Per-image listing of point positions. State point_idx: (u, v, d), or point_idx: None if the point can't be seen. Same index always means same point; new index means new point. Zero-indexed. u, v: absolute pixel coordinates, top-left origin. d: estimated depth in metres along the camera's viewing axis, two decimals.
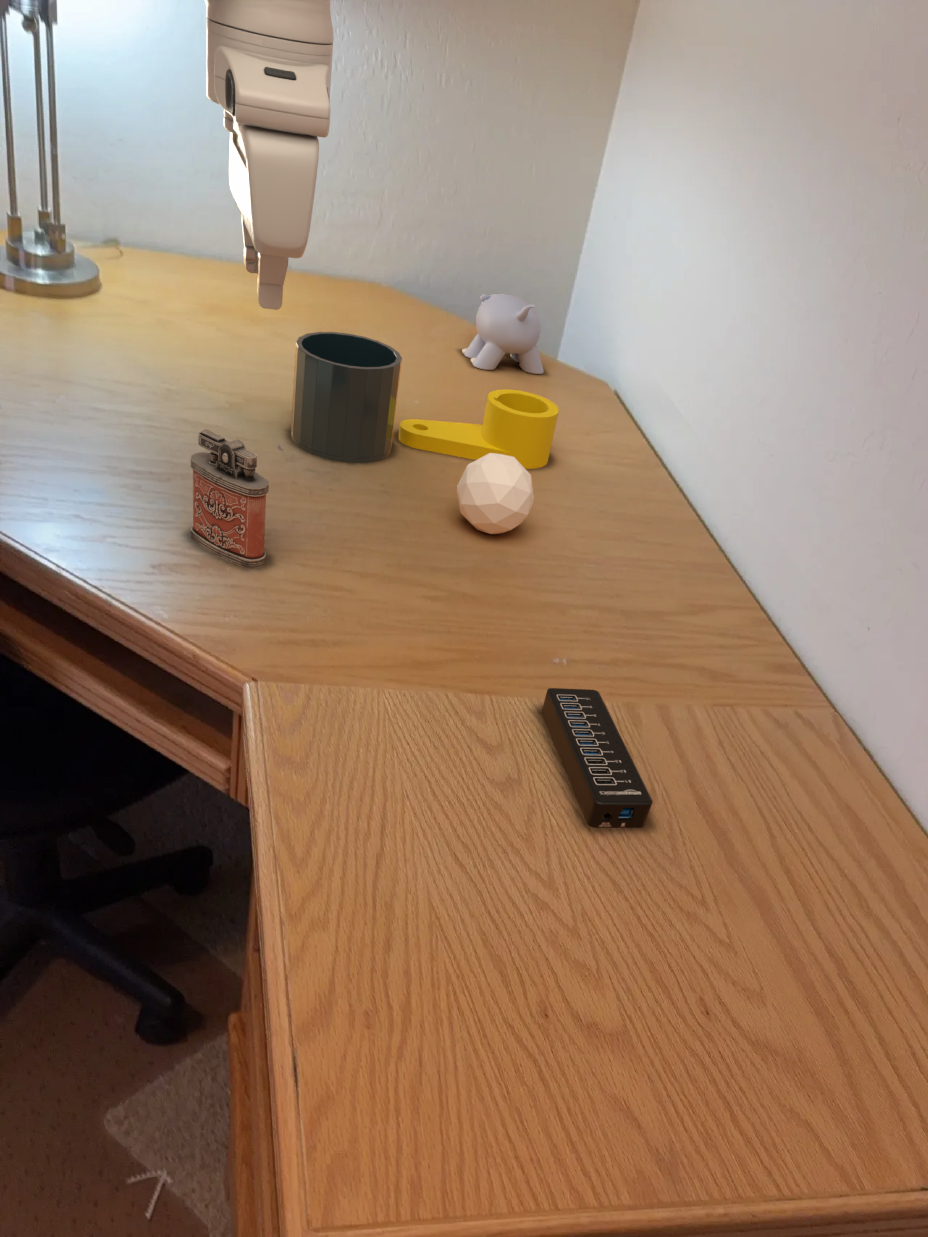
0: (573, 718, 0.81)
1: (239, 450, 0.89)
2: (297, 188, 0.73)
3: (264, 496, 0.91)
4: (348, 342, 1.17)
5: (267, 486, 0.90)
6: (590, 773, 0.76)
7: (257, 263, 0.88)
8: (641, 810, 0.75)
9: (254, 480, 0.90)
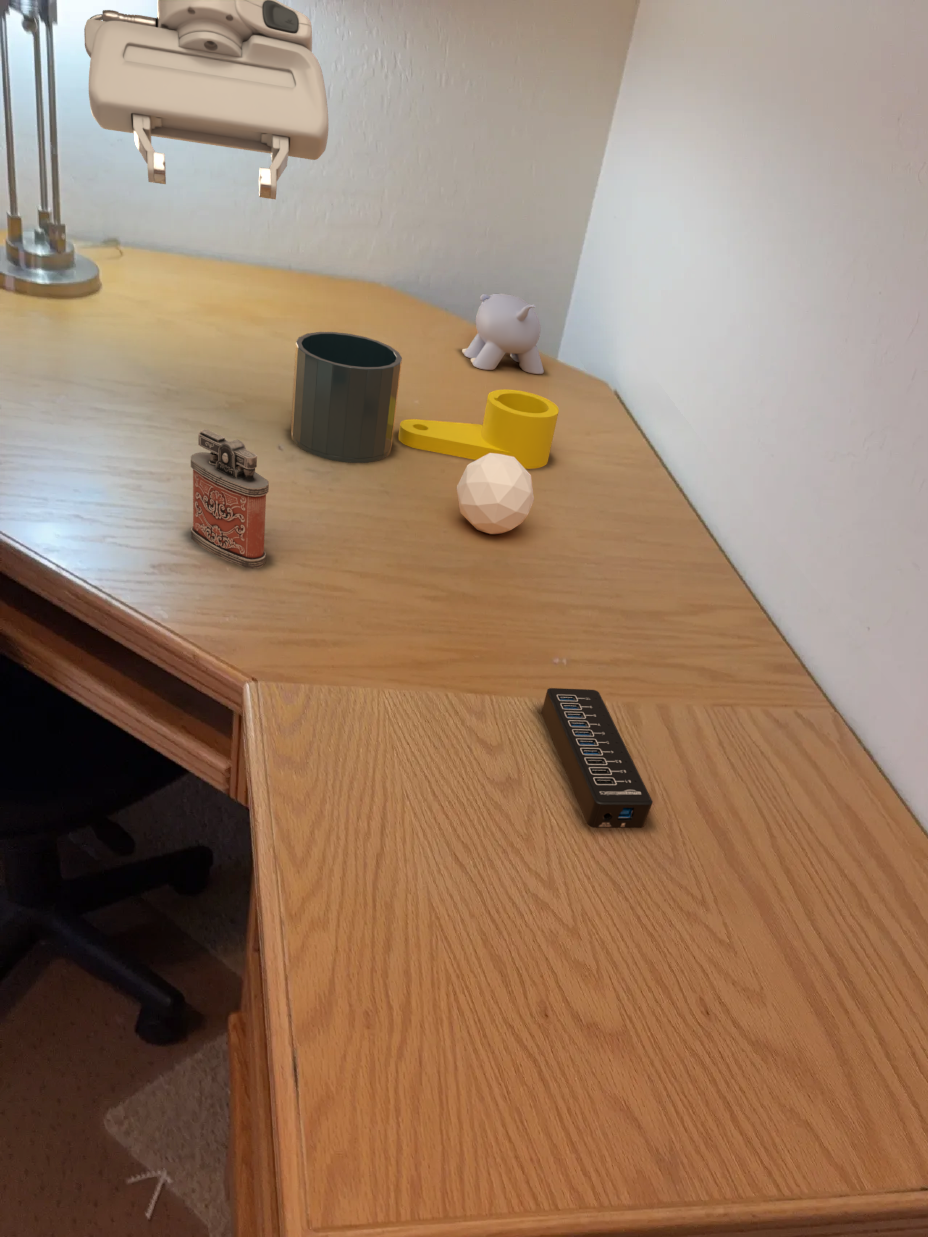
0: (573, 718, 0.81)
1: (239, 450, 0.89)
2: None
3: (264, 496, 0.91)
4: (348, 342, 1.17)
5: (267, 486, 0.90)
6: (590, 773, 0.76)
7: (164, 172, 0.92)
8: (641, 810, 0.75)
9: (254, 480, 0.90)
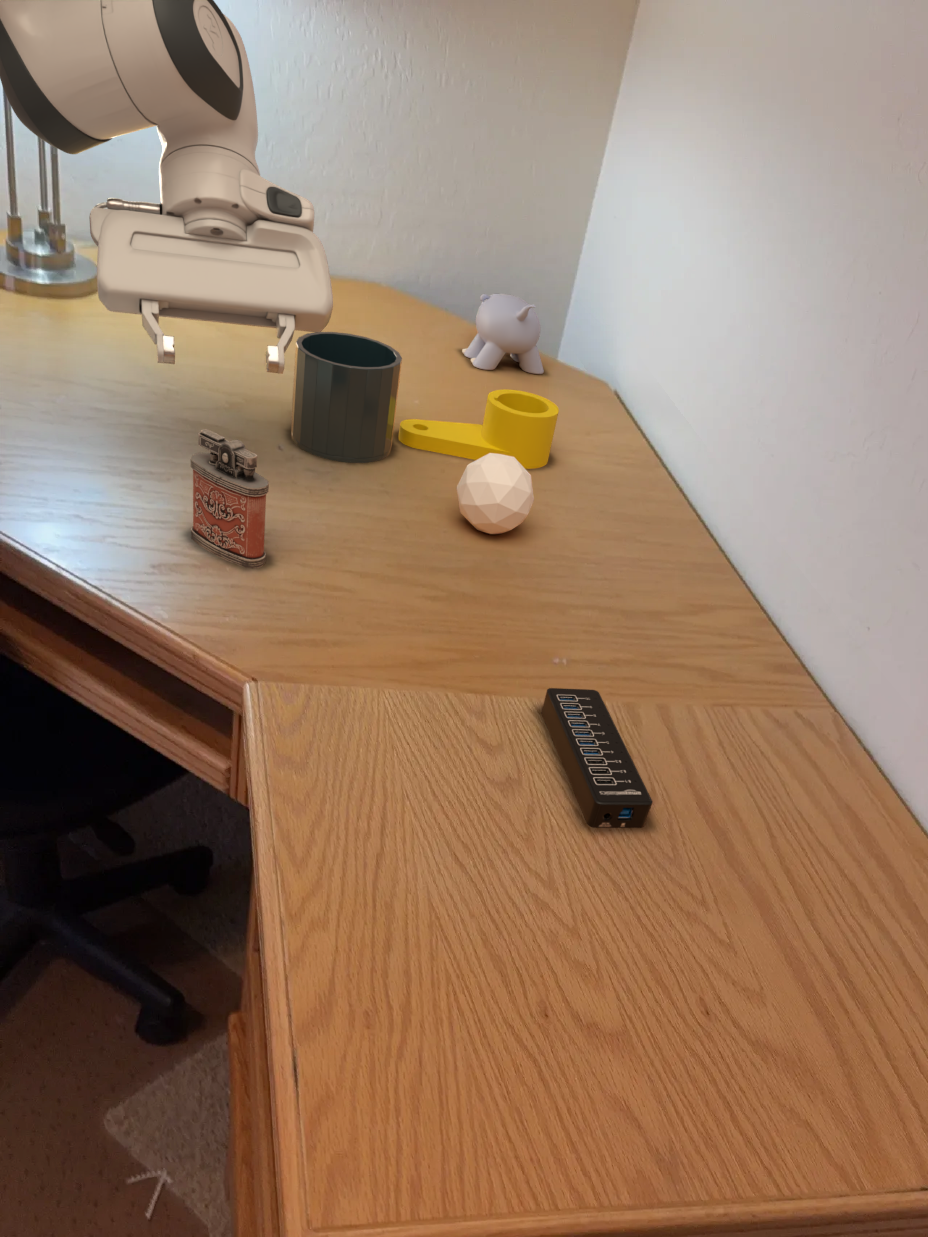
0: (573, 718, 0.81)
1: (239, 450, 0.89)
2: None
3: (264, 496, 0.91)
4: (348, 342, 1.17)
5: (267, 486, 0.90)
6: (590, 773, 0.76)
7: None
8: (641, 810, 0.75)
9: (254, 480, 0.90)
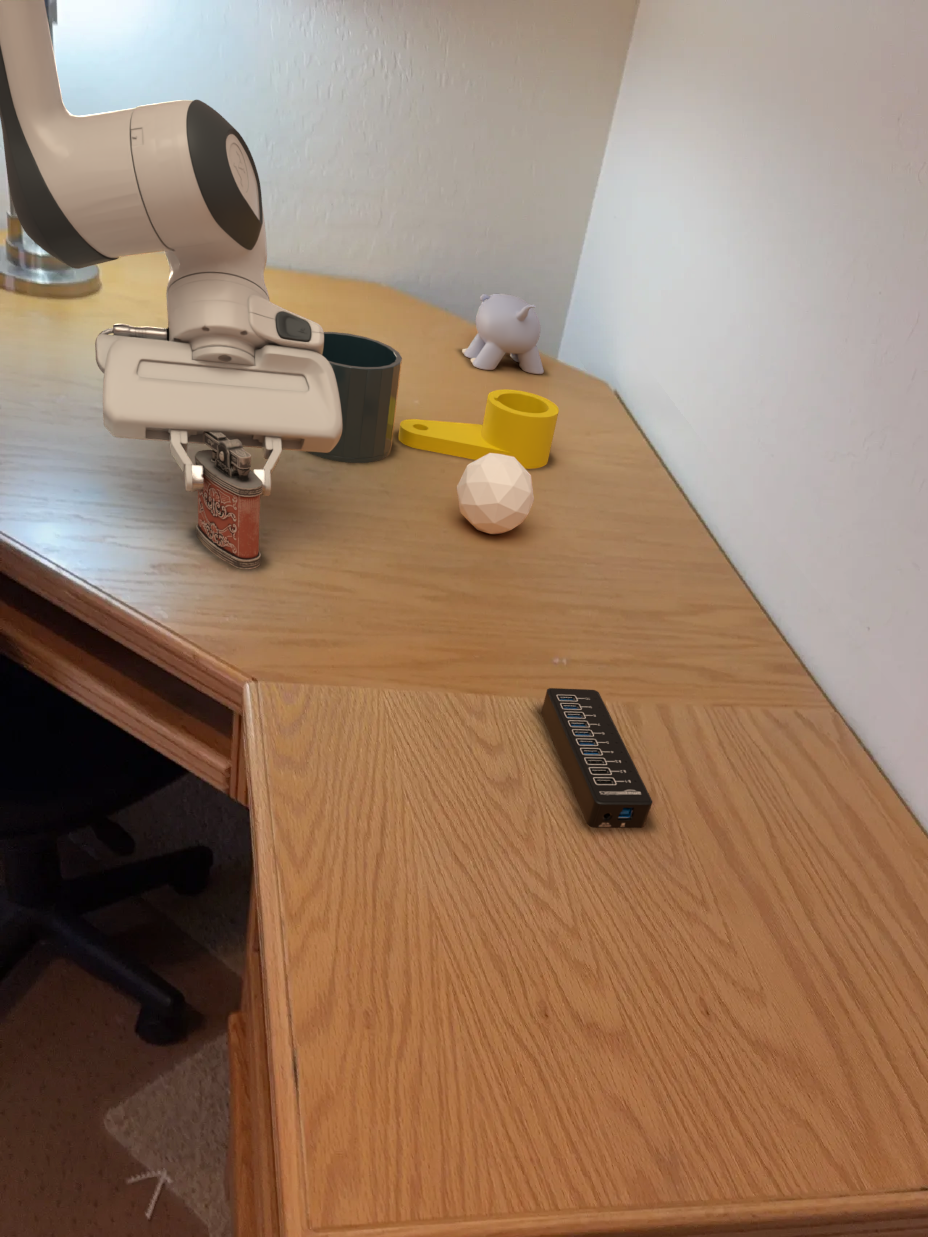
0: (573, 718, 0.81)
1: (235, 449, 0.89)
2: None
3: (256, 497, 0.90)
4: (348, 342, 1.17)
5: (259, 487, 0.90)
6: (590, 773, 0.76)
7: None
8: (641, 810, 0.75)
9: (248, 480, 0.90)
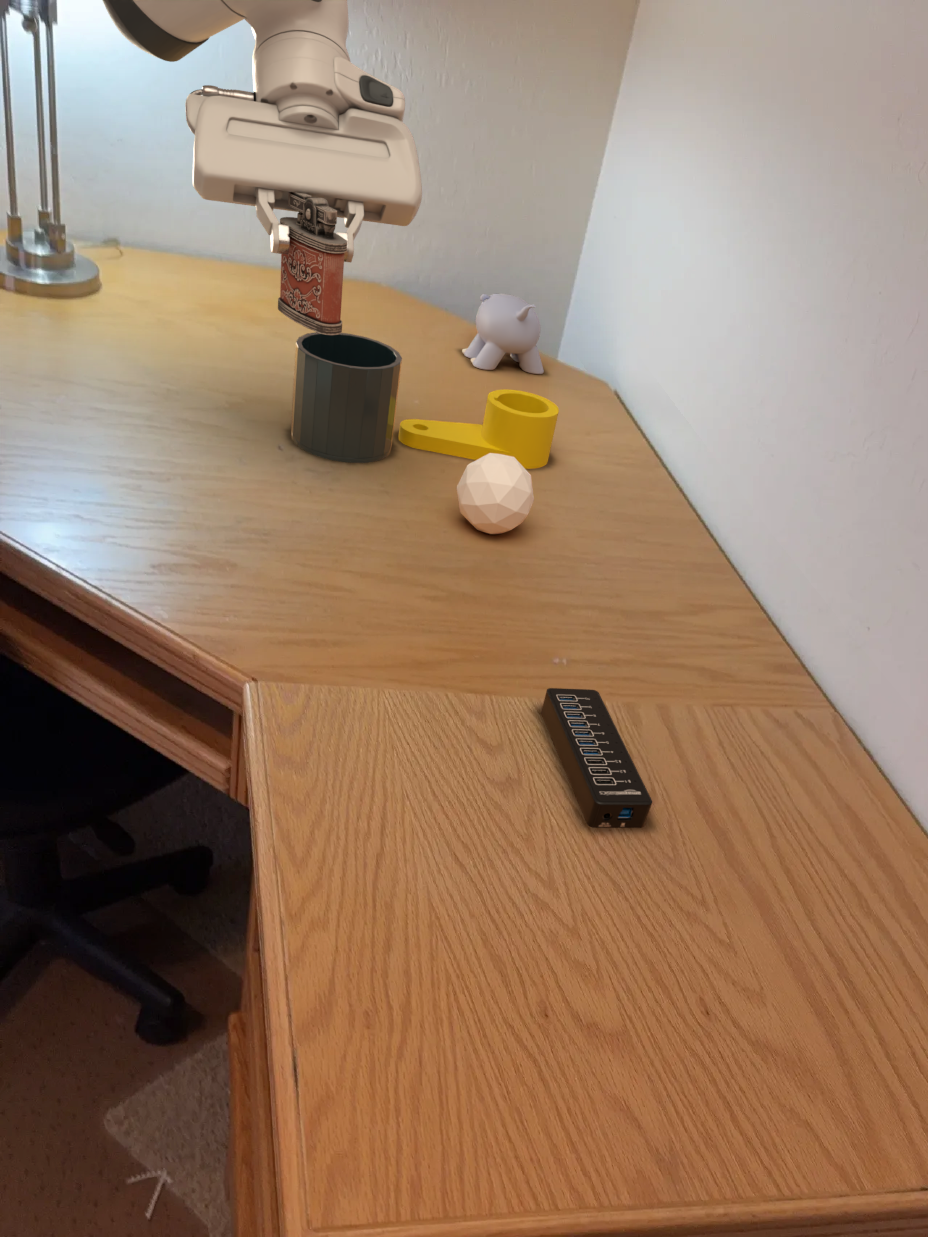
0: (573, 718, 0.81)
1: (321, 206, 0.91)
2: None
3: (341, 255, 0.93)
4: (348, 342, 1.17)
5: (344, 244, 0.92)
6: (590, 773, 0.76)
7: None
8: (641, 810, 0.75)
9: (333, 238, 0.92)
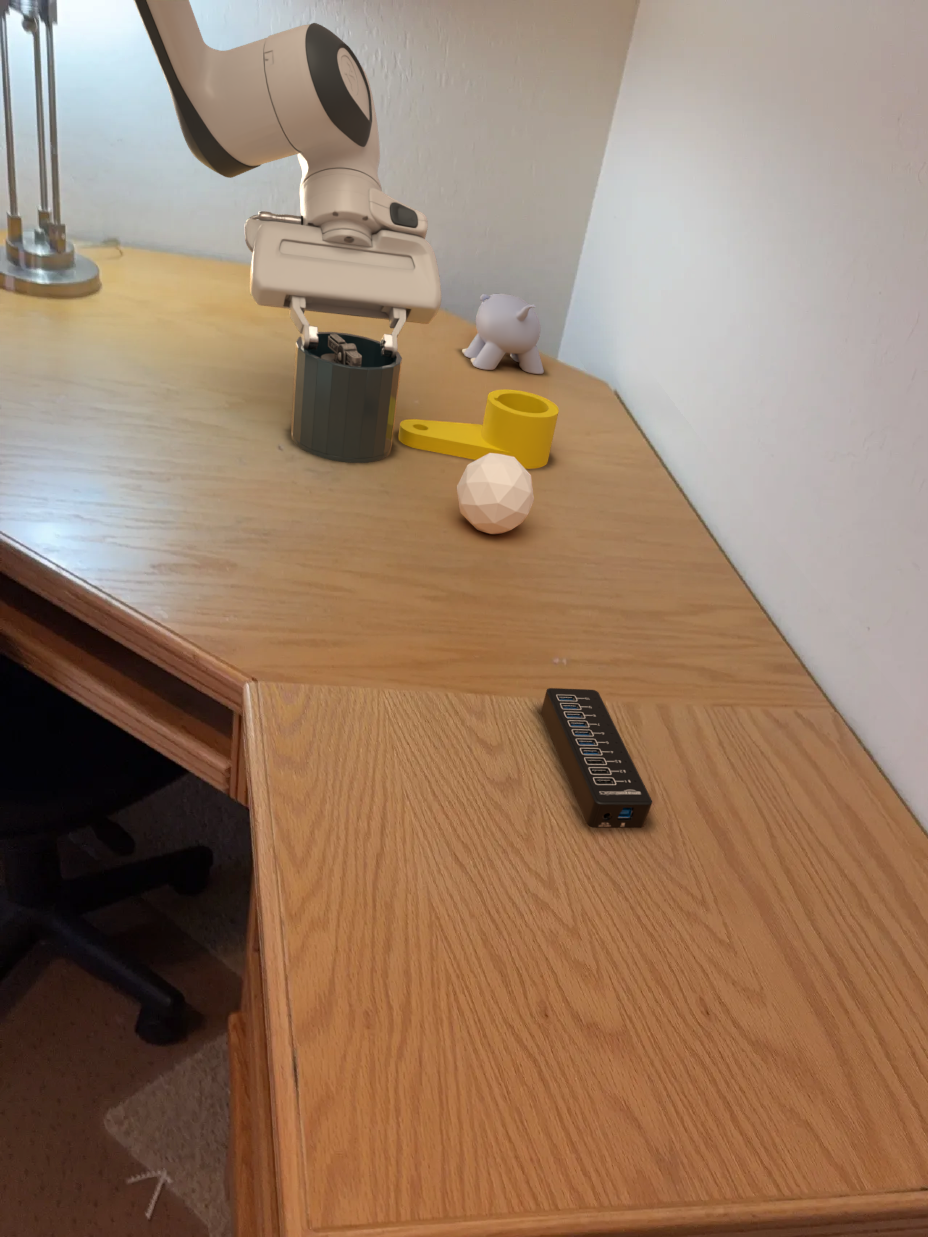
0: (572, 718, 0.81)
1: (350, 351, 1.11)
2: None
3: None
4: (348, 342, 1.17)
5: None
6: (590, 773, 0.76)
7: None
8: (640, 810, 0.75)
9: None
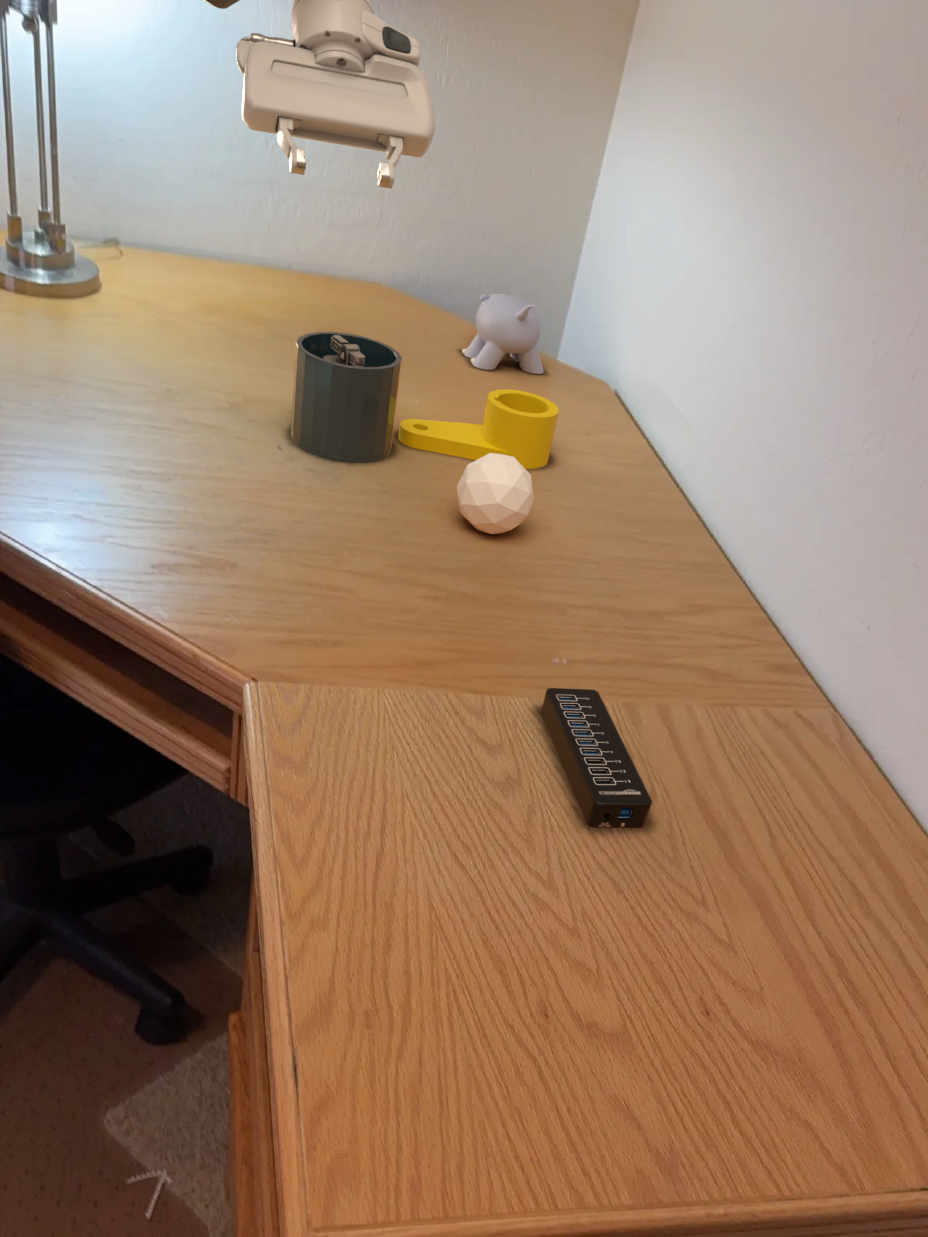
0: (572, 718, 0.81)
1: (353, 351, 1.12)
2: None
3: None
4: (348, 342, 1.17)
5: None
6: (590, 773, 0.76)
7: None
8: (640, 810, 0.75)
9: None
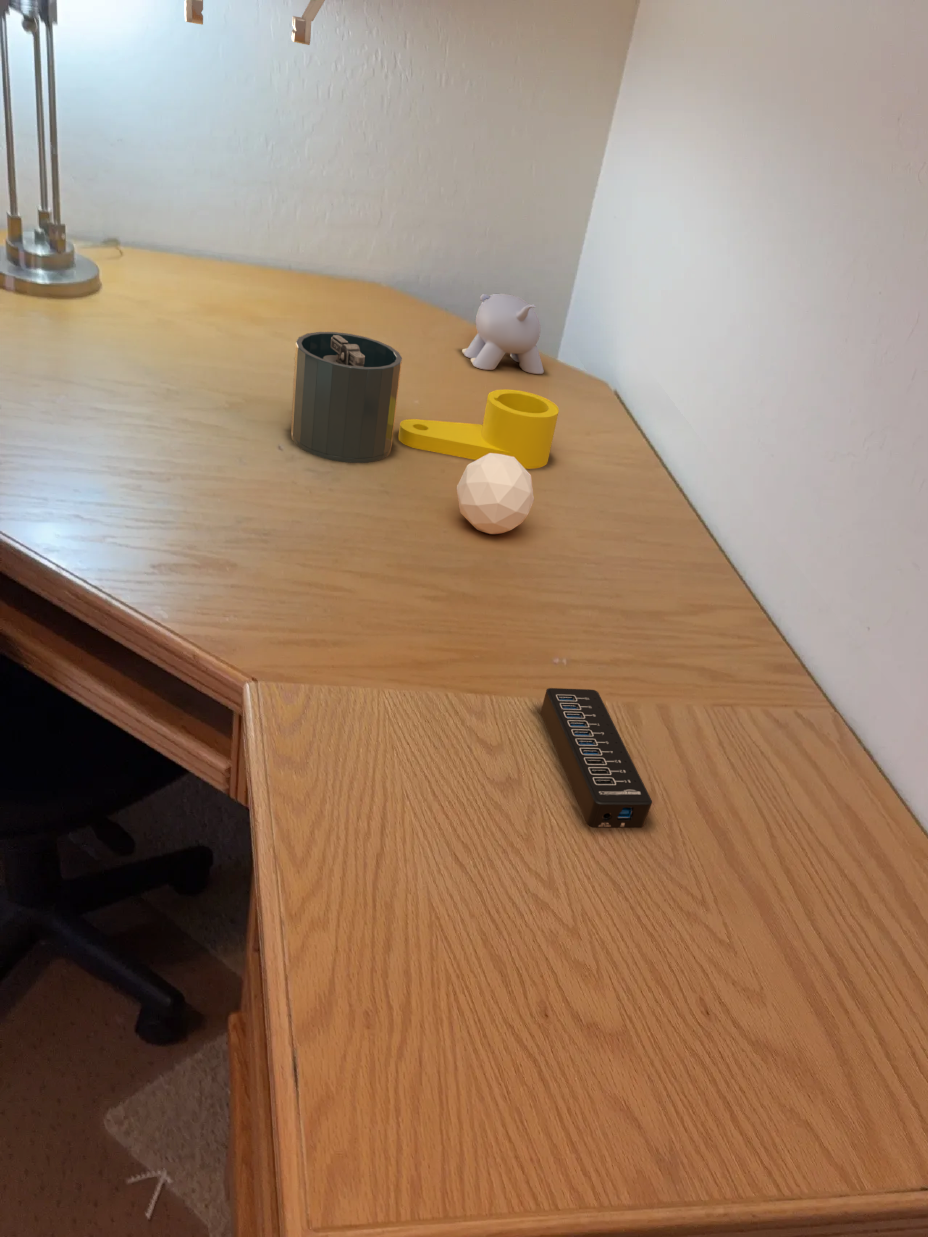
0: (572, 718, 0.81)
1: (353, 351, 1.12)
2: None
3: None
4: (348, 342, 1.17)
5: None
6: (589, 773, 0.76)
7: None
8: (640, 810, 0.75)
9: None
